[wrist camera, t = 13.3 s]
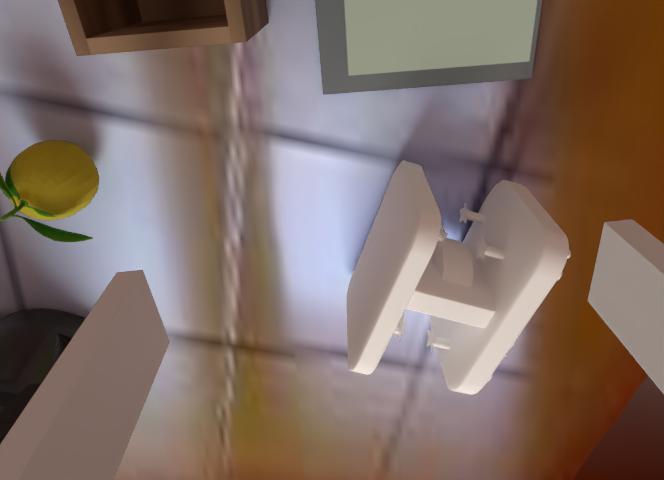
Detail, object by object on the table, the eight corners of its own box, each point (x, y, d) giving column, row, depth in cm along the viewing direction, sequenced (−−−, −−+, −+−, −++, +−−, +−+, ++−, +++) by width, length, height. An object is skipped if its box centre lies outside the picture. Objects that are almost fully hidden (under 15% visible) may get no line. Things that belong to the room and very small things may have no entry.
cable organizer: (402, 139, 36) (426, 206, 26) (522, 176, 38) (589, 253, 28) (343, 286, 44) (345, 382, 34) (446, 312, 45) (477, 411, 35)
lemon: (129, 197, 39) (70, 263, 31) (61, 200, 39) (-16, 267, 31) (104, 118, 36) (30, 168, 27) (30, 123, 36) (-67, 173, 27)
